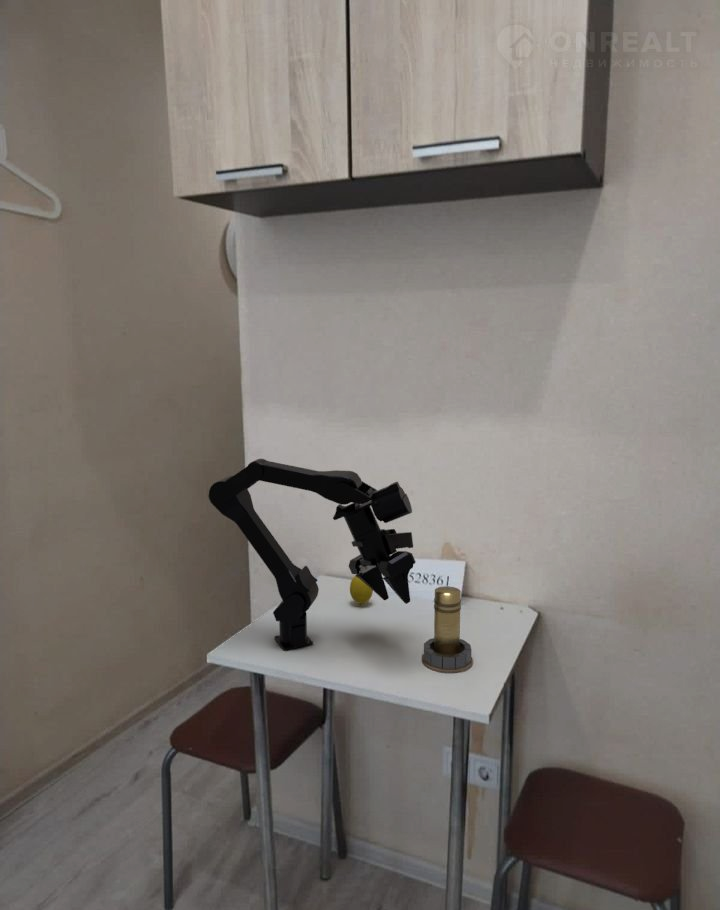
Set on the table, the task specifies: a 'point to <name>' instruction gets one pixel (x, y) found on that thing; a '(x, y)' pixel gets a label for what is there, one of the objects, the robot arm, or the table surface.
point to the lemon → (360, 591)
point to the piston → (447, 620)
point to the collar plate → (446, 670)
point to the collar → (447, 656)
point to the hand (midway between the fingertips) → (396, 600)
